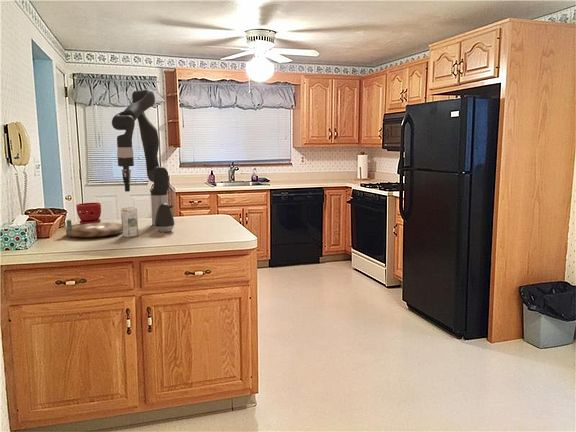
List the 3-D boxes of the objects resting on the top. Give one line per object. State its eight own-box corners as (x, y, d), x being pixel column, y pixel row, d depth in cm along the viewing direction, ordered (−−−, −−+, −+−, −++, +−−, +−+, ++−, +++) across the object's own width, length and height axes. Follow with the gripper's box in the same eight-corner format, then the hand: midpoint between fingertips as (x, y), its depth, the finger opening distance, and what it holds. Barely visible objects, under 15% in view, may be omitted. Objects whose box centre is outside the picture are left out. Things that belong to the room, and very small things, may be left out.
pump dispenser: (170, 233, 245) (168, 204, 243) (151, 233, 248) (150, 204, 245) (178, 230, 255) (177, 202, 253) (160, 229, 257) (159, 201, 255)
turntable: (119, 224, 264) (118, 212, 263) (128, 233, 240) (128, 219, 239) (64, 229, 250) (63, 216, 249) (68, 239, 226) (67, 225, 225)
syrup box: (132, 234, 244) (130, 206, 241) (138, 236, 240) (137, 207, 238) (122, 236, 240) (120, 208, 237) (128, 237, 236) (127, 209, 233)
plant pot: (106, 221, 280) (104, 201, 278) (95, 226, 267) (93, 205, 265) (85, 221, 281) (83, 201, 279) (73, 225, 268) (71, 204, 266)
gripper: (119, 156, 239) (121, 190, 242) (115, 157, 226) (118, 193, 229) (134, 155, 240) (136, 189, 243) (132, 157, 228) (134, 192, 230)
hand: (127, 191), depth 236 cm, fingers closed
